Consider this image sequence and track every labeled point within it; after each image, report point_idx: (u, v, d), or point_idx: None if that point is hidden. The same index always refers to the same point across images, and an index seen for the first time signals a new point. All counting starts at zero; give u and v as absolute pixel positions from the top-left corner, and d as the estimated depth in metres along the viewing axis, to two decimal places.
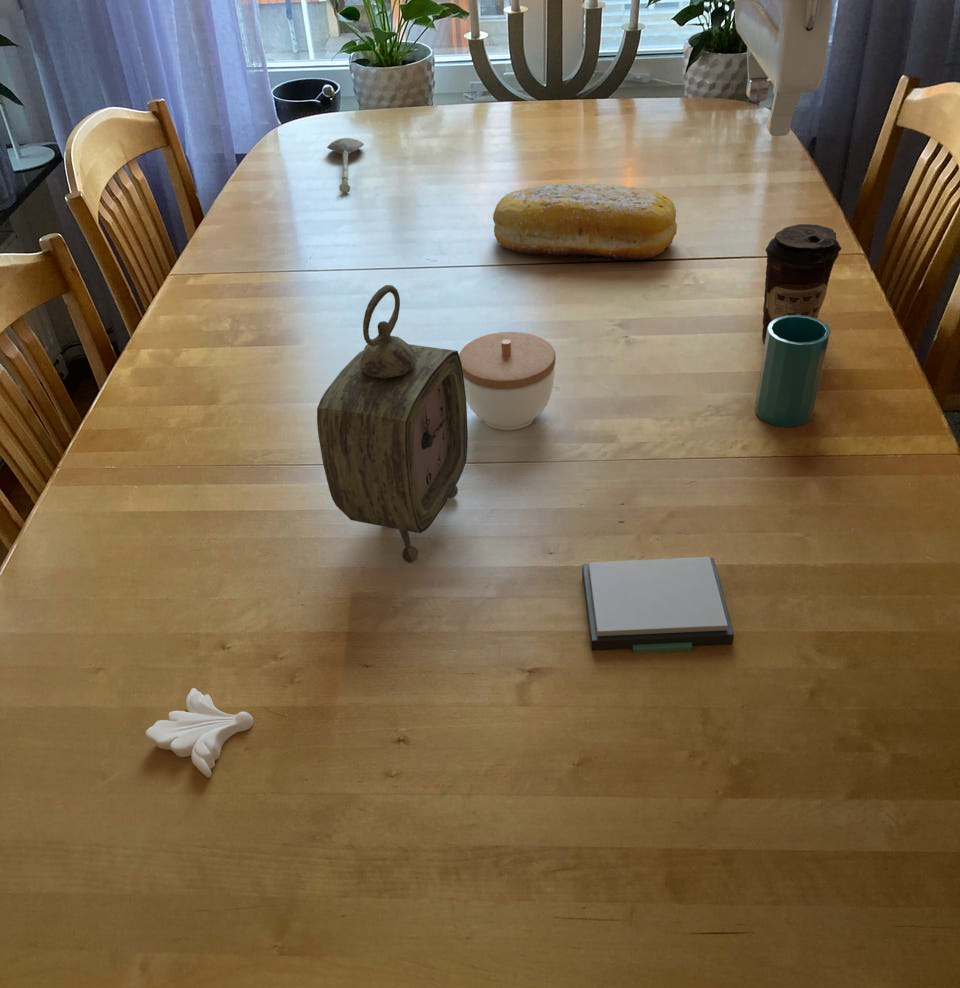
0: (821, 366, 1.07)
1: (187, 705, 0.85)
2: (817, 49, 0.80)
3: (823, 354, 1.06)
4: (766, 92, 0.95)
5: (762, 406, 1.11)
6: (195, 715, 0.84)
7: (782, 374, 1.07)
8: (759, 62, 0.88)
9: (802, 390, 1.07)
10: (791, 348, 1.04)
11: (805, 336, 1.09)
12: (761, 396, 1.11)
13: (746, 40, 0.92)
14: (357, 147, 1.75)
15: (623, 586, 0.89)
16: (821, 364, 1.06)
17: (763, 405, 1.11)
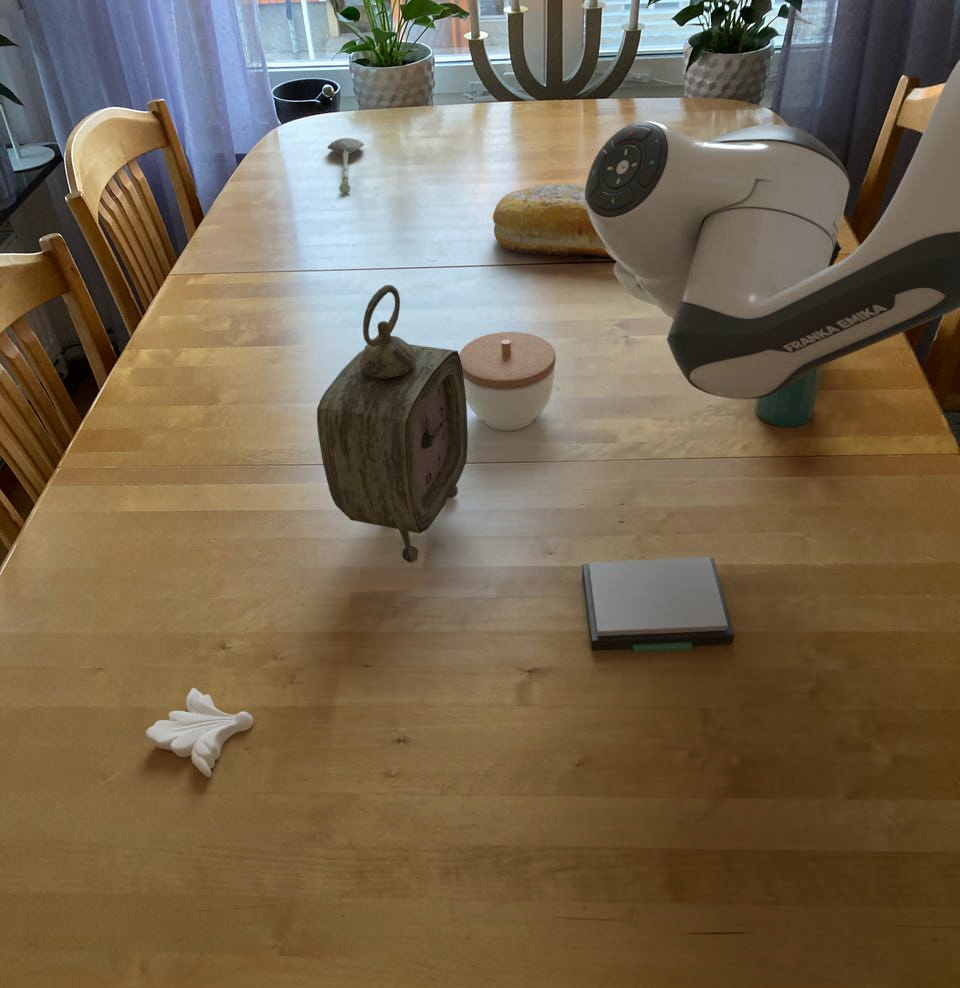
0: (821, 366, 1.07)
1: (187, 705, 0.85)
2: None
3: None
4: None
5: (762, 406, 1.11)
6: (195, 715, 0.84)
7: None
8: None
9: (802, 390, 1.07)
10: None
11: None
12: None
13: None
14: (357, 147, 1.75)
15: (623, 586, 0.89)
16: None
17: (763, 405, 1.11)
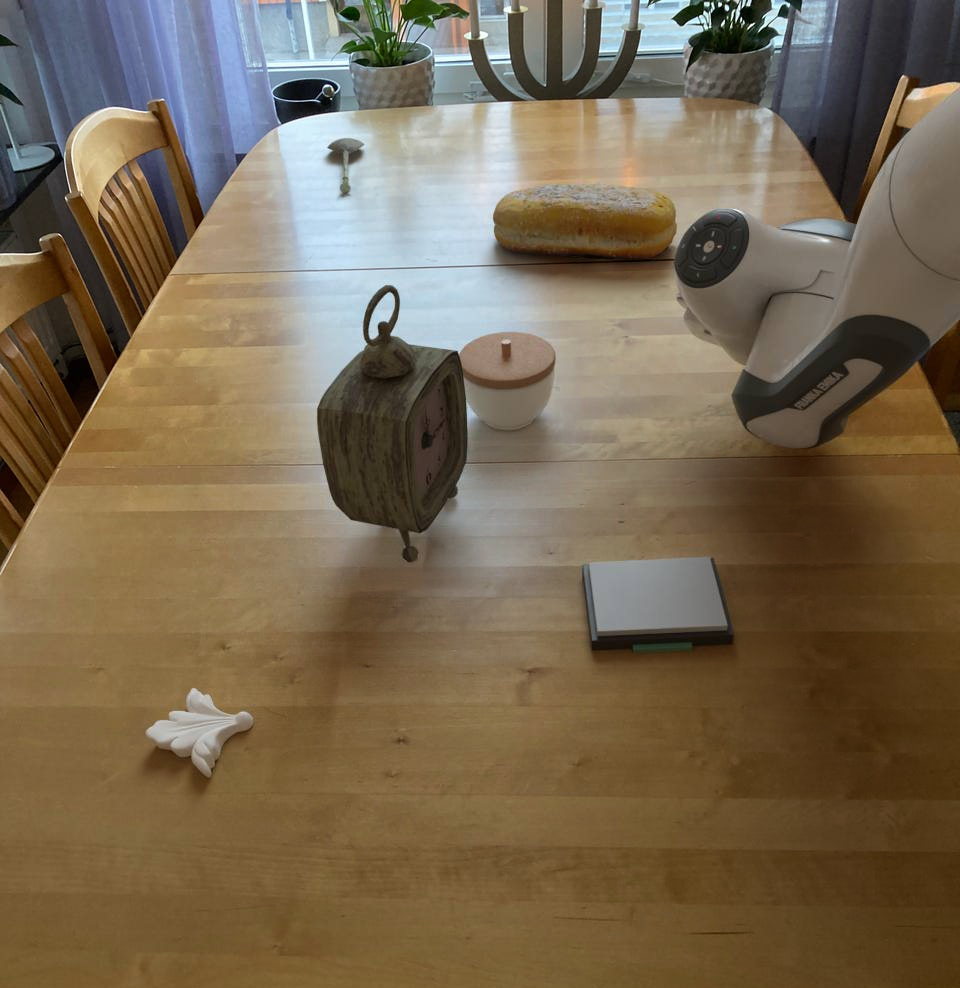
0: None
1: (187, 705, 0.85)
2: None
3: None
4: None
5: None
6: (195, 715, 0.84)
7: None
8: None
9: None
10: None
11: None
12: None
13: None
14: (357, 147, 1.75)
15: (623, 586, 0.89)
16: None
17: None
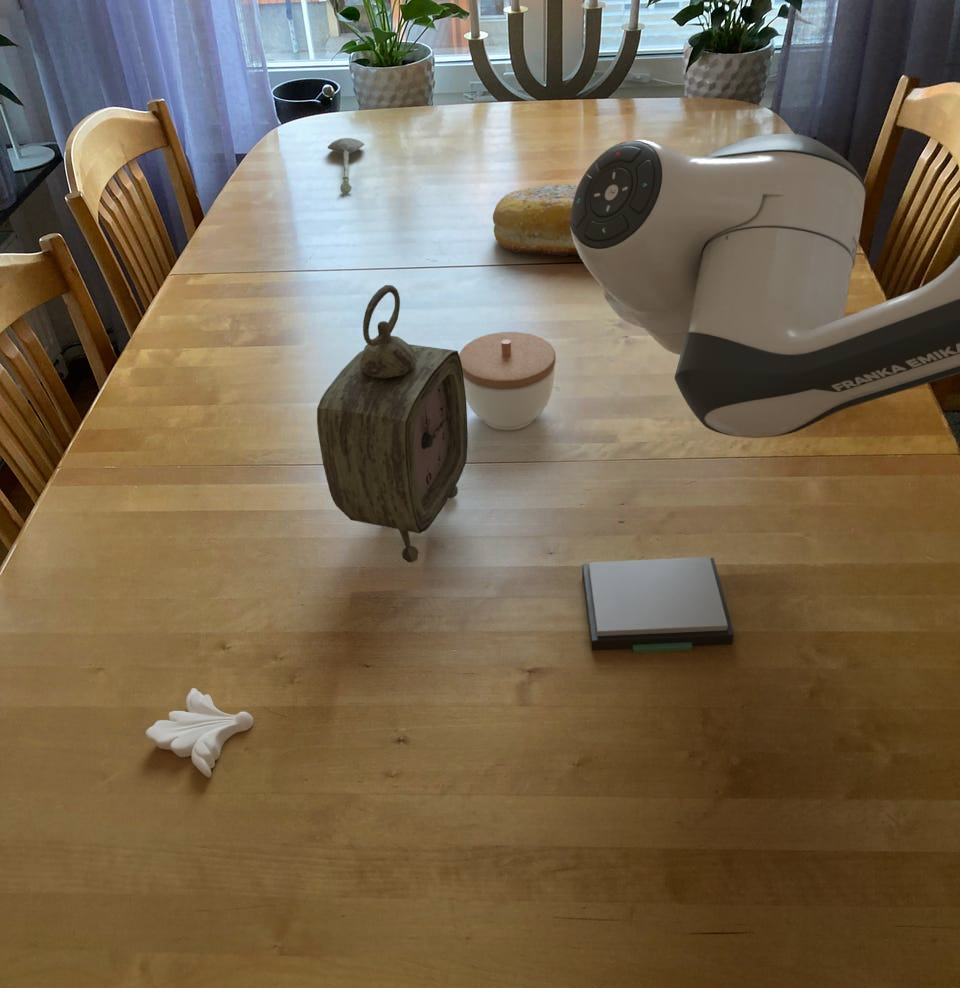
0: None
1: (187, 705, 0.85)
2: None
3: None
4: None
5: None
6: (195, 715, 0.84)
7: None
8: None
9: None
10: None
11: None
12: None
13: None
14: (357, 147, 1.75)
15: (623, 586, 0.89)
16: None
17: None
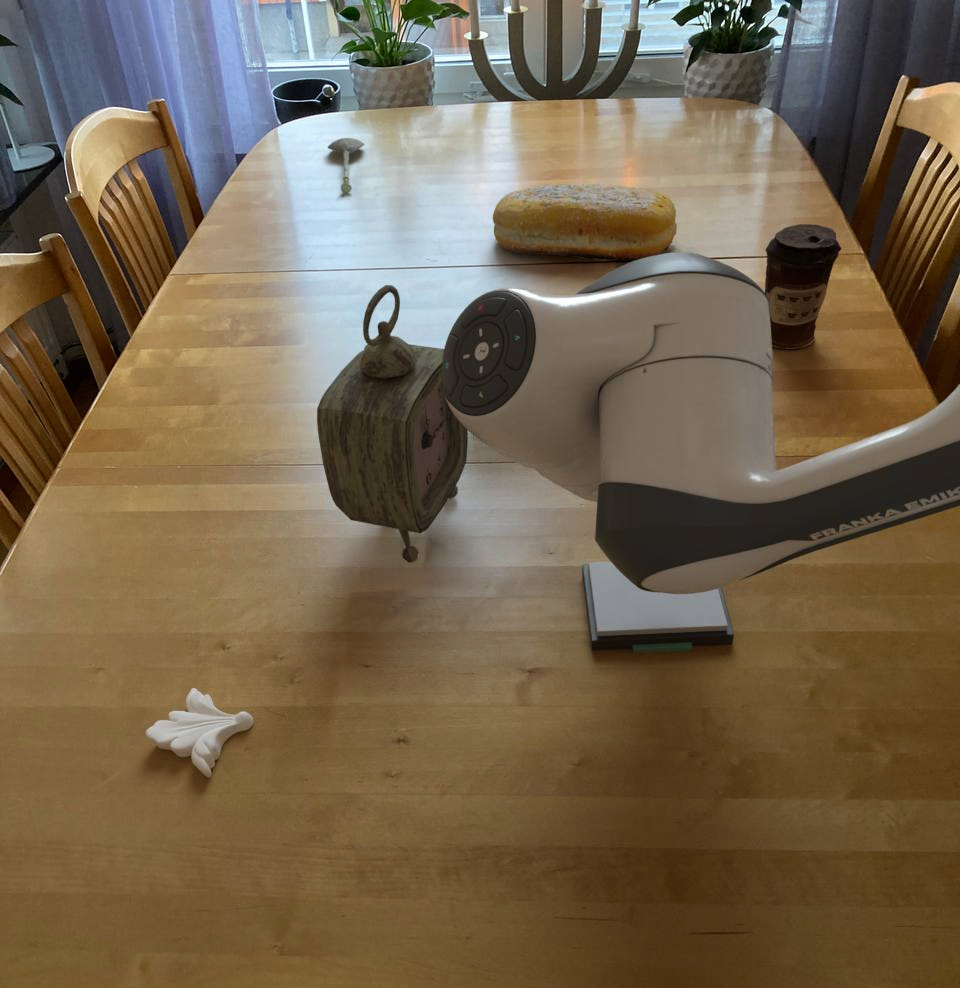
0: None
1: (187, 705, 0.85)
2: None
3: None
4: None
5: None
6: (195, 715, 0.84)
7: None
8: None
9: None
10: None
11: None
12: None
13: None
14: (358, 147, 1.75)
15: (623, 586, 0.89)
16: None
17: None
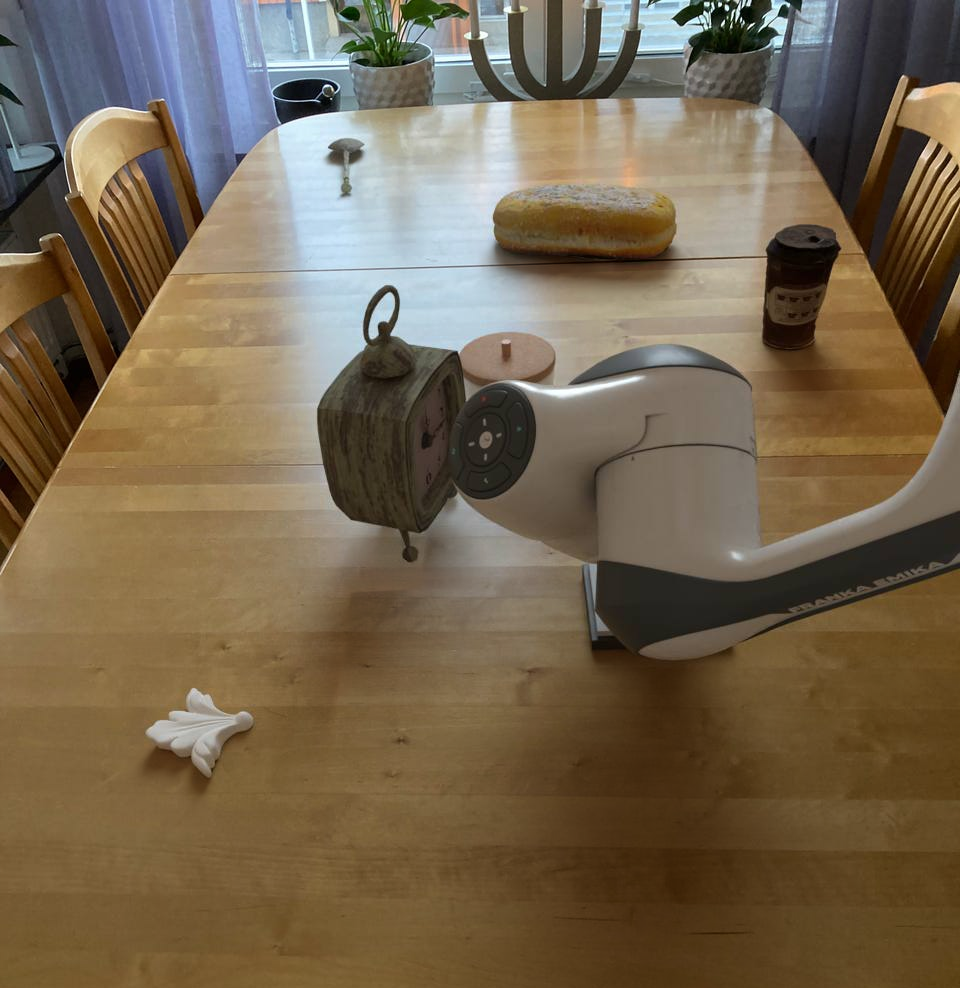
0: None
1: (187, 705, 0.85)
2: None
3: None
4: None
5: None
6: (195, 715, 0.84)
7: None
8: None
9: None
10: None
11: None
12: None
13: None
14: (358, 147, 1.75)
15: None
16: None
17: None
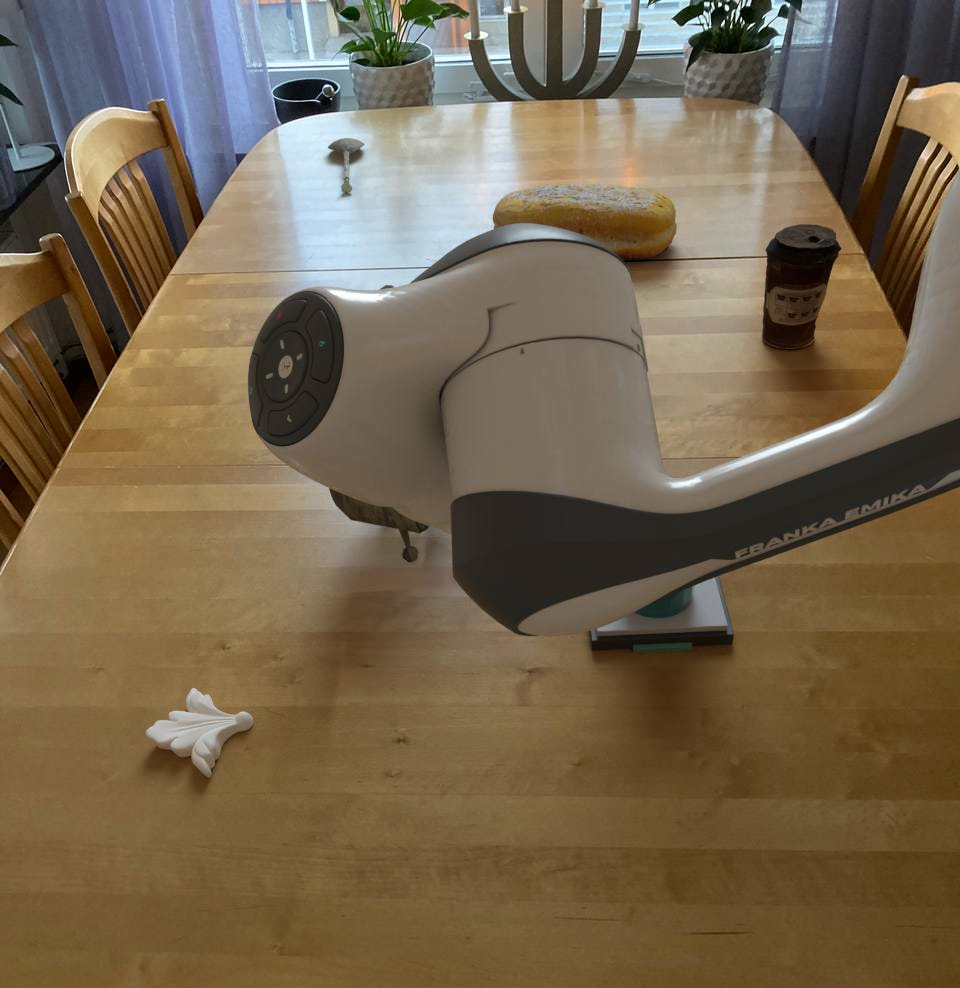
0: None
1: (187, 705, 0.85)
2: None
3: None
4: None
5: None
6: (195, 715, 0.84)
7: None
8: None
9: None
10: None
11: None
12: None
13: None
14: (358, 147, 1.75)
15: None
16: None
17: None
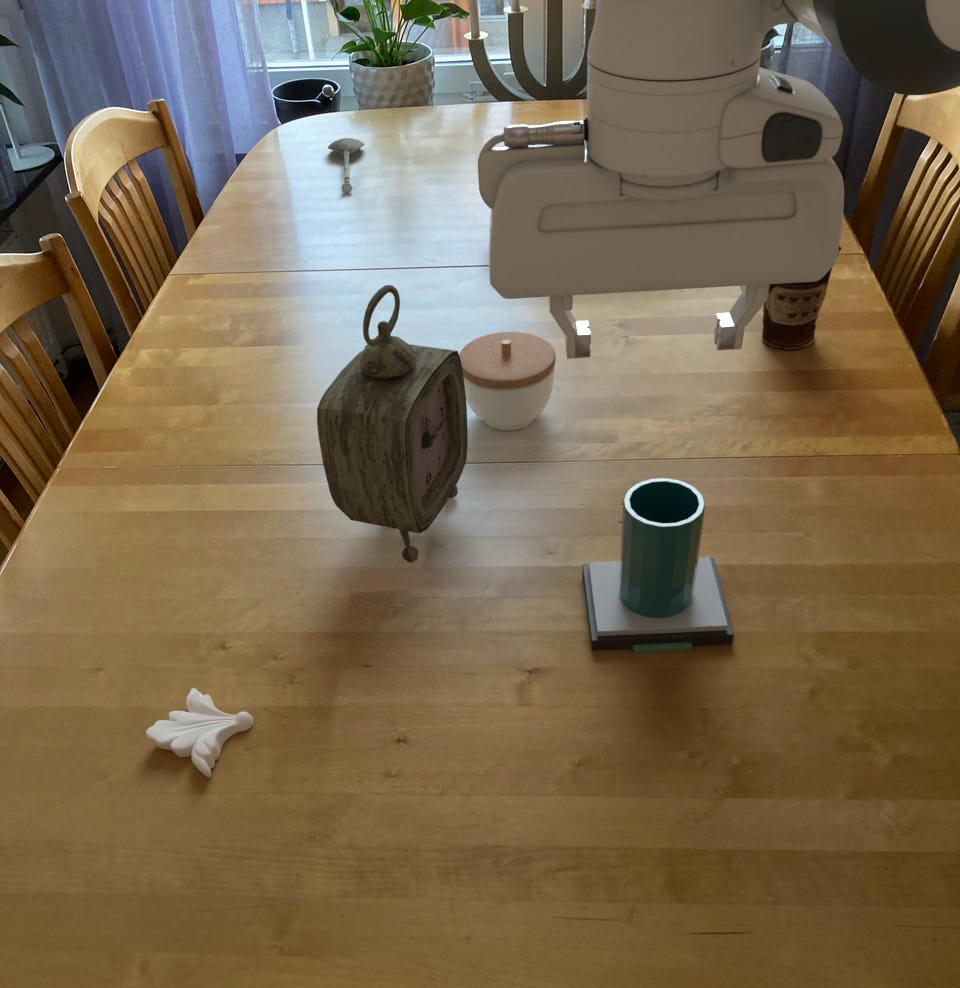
0: (695, 548, 0.81)
1: (187, 705, 0.85)
2: (490, 240, 0.58)
3: (696, 534, 0.80)
4: (720, 341, 0.62)
5: (625, 591, 0.86)
6: (195, 715, 0.84)
7: (643, 559, 0.81)
8: None
9: (671, 578, 0.82)
10: (651, 530, 0.79)
11: (678, 504, 0.84)
12: (623, 579, 0.85)
13: None
14: (358, 147, 1.75)
15: None
16: (694, 546, 0.81)
17: (625, 590, 0.85)
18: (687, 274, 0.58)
